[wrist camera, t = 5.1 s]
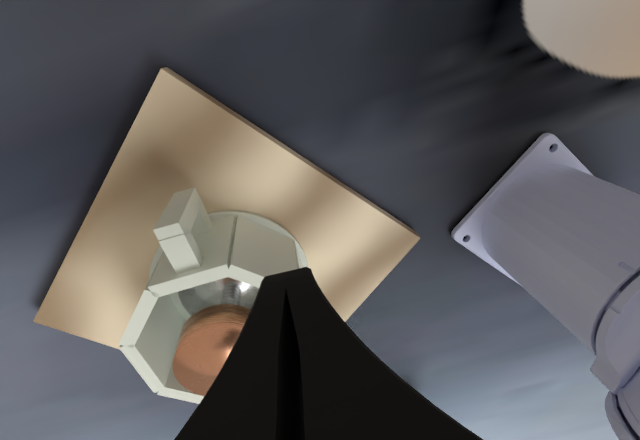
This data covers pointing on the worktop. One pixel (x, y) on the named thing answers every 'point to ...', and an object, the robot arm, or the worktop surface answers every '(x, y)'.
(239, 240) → the faceted mug
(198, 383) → the plunger
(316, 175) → the serving board
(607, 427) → the worktop surface
